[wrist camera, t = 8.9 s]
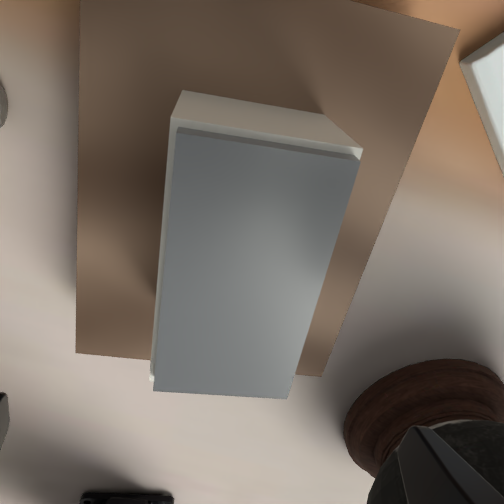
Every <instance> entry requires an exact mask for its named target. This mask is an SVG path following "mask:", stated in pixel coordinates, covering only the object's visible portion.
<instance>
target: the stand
mask: <svg viewBox="0 0 504 504" xmlns="http://www.w3.org/2000/svg"><path fill="white" fill-rule="evenodd" d="M459 32H460V30H459V29H455V28H452V27H448V26H444V25H440V24H437V23H433V22H429V21H425V20H422V19H418V18H414V17H410V16H407V15H403V14H399V13H395V12H392V11H388V10H384V9H380V8H377V7H373V6H369V5H365V4H362V3H358V2H354V1H350V0H80V41H79V121H78V200H77V280H76V353H81V354H91V355H101V356H112V357H122V358H132V359H143V360H151V352H152V339H153V327H154V315H155V302H156V290H157V278H158V266H159V253H160V241H161V229H162V216H163V204H164V192H165V180H166V167H167V155H168V143H169V130H170V118H171V115H172V113H173V110H174V108H175V106H176V104H177V101H178V99H179V97H180V94H181V92H182V90H186V91H192V92H197V93H203V94H209V95H215V96H220V97H226V98H232V99H237V100H243V101H249V102H255V103H260V104H266V105H272V106H278V107H283V108H289V109H295V110H300V111H306V112H312V113H318V114H323V115H325V116H326V117H328V118H329V119H330V120H331V121H332V122H333V123H334V124H336V125H337V126H338V127H339V128H340V129H341V130H342V131H344V132H345V133H346V134H347V135H348V136H349V137H351V138H352V139H353V140H354V141H355V142H356V143H357V144H359V145H360V146H361V147H362V148H363V151H362V154H361V158H360V161H361V163H360V166H359V170H358V173H357V176H356V179H355V182H354V186H353V189H352V192H351V195H350V198H349V202H348V205H347V208H346V211H345V214H344V218H343V221H342V224H341V227H340V231H339V234H338V237H337V240H336V243H335V247H334V250H333V253H332V256H331V259H330V263H329V266H328V269H327V272H326V275H325V279H324V282H323V285H322V288H321V292H320V295H319V298H318V301H317V304H316V308H315V311H314V314H313V317H312V320H311V324H310V327H309V330H308V333H307V336H306V340H305V343H304V346H303V349H302V353H301V356H300V359H299V362H298V365H297V369H296V372H295V374H297V375H307V376H318V377H321V376H322V374H323V371H324V369H325V366H326V364H327V361H328V359H329V356H330V354H331V351H332V349H333V346H334V344H335V341H336V339H337V336H338V334H339V331H340V329H341V326H342V324H343V321H344V319H345V316H346V314H347V311H348V309H349V306H350V304H351V301H352V299H353V296H354V294H355V291H356V289H357V286H358V284H359V281H360V279H361V276H362V274H363V271H364V269H365V266H366V264H367V261H368V259H369V256H370V254H371V251H372V249H373V246H374V244H375V241H376V239H377V236H378V234H379V231H380V229H381V226H382V224H383V221H384V219H385V216H386V214H387V211H388V209H389V206H390V204H391V201H392V199H393V196H394V194H395V191H396V189H397V186H398V184H399V181H400V179H401V177H402V174H403V172H404V169H405V167H406V164H407V162H408V159H409V157H410V154H411V152H412V149H413V147H414V144H415V142H416V139H417V137H418V134H419V132H420V129H421V127H422V124H423V122H424V119H425V117H426V114H427V112H428V109H429V107H430V104H431V102H432V99H433V97H434V94H435V92H436V89H437V87H438V84H439V82H440V79H441V77H442V74H443V72H444V69H445V67H446V64H447V62H448V59H449V57H450V54H451V52H452V49H453V47H454V44H455V42H456V39H457V37H458V34H459Z"/></svg>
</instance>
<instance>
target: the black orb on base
mask: <svg viewBox="0 0 504 504" xmlns="http://www.w3.org/2000/svg"><path fill="white" fill-rule="evenodd" d="M414 425H415V426H426V427H429V428H430V429H432V430H433V431H434V432H435V433H436V434H437V435H438V436H439V437H440V438H441V439H442V440H443V441H445V442H446V443H447V444H448V445H449V446H450V447H451V448H452V449H453V450H454V451H455V452H456V453H457V454H458V455H459V456H460V457H461V458H463V459H464V460H465V461H466V462H467V463H468V464H469V465H470V466H471V467H472V468H473V469H474V470H475V471H476V472H477V473H478V474H480V475H481V476H482V477H483V478H484V479H485V480H486V481H487V482H488V483H489V484H490V485H491V486H492V487H493V488H494V489H495V490H496V491H498V492H499V493H500V494H501V495H502V496H503V497H504V384H503V382H502V381H501V380H500V379H499V377H498V376H497V375H496V374H495V373H493V372H492V371H491V370H490V369H488V368H487V367H484V366H482V365H480V364H478V363H475V362H471V361H466V360H461V359H439V360H430V361H425V362H421V363H417V364H413V365H409V366H407V367H404V368H402V369H399V370H397V371H394V372H392V373H390V374H389V375H387V376H385V377H383V378H382V379H380V380H378V381H377V382H375V383H374V384H373V385H372V386H370V387H369V388H368V389H366V390H365V391H364V392H363V393H362V394H361V395H360V396H359V398H358V399H357V400H356V401H355V402H354V404H353V405H352V407H351V408H350V410H349V412H348V414H347V417H346V419H345V422H344V432H343V435H344V439H345V443H346V446H347V449H348V452H349V455H350V456H351V458H352V459H353V461H354V462H355V463H356V464H357V465H358V466H359V467H360V468H362V469H363V470H365V471H367V472H368V473H369V474H370V475H371V476H372V477H374V478H376V479H375V481H374V483H373V485H372V488H371V490H370V492H369V495H368V500H367V504H408V501H407V497H406V492H405V488H404V483H403V479H402V474H401V469H400V465H399V460H398V447H399V445H400V443H401V441H402V440H403V438H404V436H405V434H406V433H407V431H408V429H409V428H410V427H411V426H414Z"/></svg>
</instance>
